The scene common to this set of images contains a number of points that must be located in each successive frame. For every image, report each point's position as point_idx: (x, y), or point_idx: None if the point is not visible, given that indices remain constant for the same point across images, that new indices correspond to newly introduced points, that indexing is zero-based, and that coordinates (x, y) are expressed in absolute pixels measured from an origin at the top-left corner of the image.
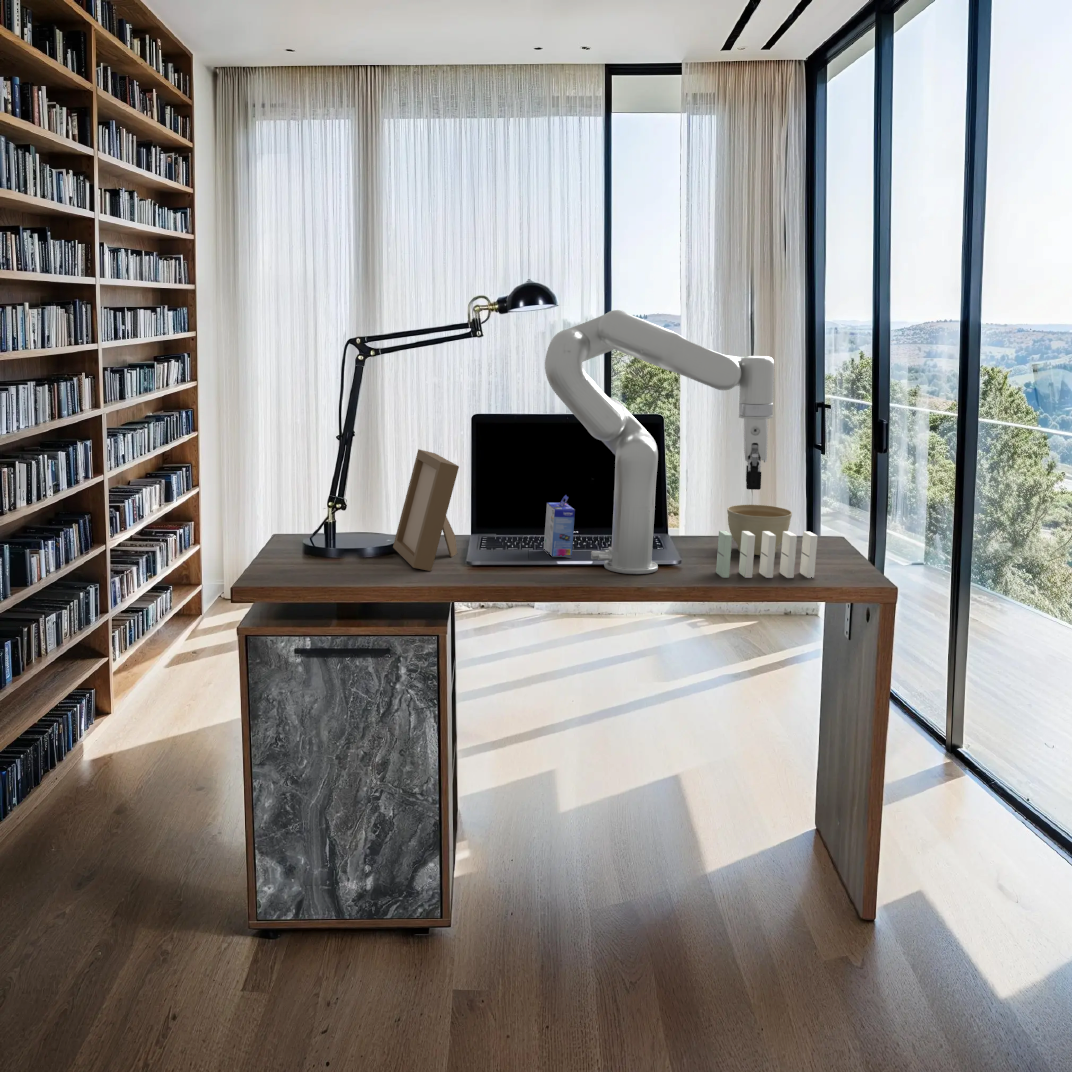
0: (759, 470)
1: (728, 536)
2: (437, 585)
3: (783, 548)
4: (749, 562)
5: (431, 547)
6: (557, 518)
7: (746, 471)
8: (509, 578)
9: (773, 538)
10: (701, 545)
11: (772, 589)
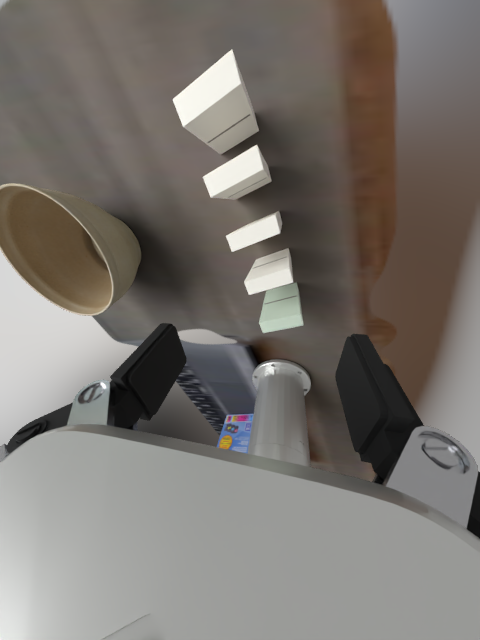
0: (463, 453)
1: (301, 318)
2: (373, 477)
3: (233, 192)
4: (290, 260)
5: None
6: None
7: (164, 395)
8: (343, 449)
9: (277, 220)
10: (133, 313)
11: (374, 206)
